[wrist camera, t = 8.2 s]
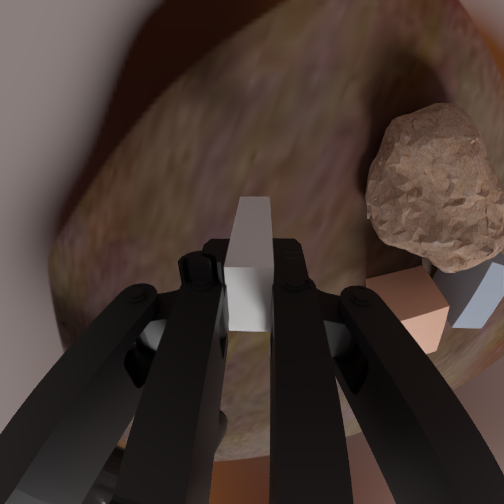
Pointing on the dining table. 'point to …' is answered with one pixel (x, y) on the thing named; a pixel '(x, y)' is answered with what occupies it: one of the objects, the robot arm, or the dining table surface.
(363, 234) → the dining table surface
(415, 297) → the terracotta block
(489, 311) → the slate block
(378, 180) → the stone
